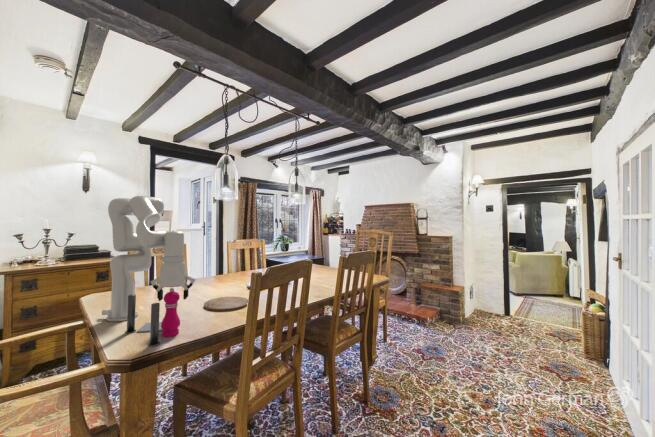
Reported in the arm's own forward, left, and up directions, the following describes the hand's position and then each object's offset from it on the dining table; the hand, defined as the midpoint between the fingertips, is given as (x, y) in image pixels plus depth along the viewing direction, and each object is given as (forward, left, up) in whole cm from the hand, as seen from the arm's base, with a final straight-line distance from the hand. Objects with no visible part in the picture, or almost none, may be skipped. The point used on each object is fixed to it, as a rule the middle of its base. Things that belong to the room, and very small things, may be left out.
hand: (173, 299), depth 117 cm
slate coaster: (-10, +10, -15) cm, 21 cm away
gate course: (-10, 0, -15) cm, 18 cm away
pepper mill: (-1, +1, -15) cm, 15 cm away
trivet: (+18, +41, -16) cm, 48 cm away
